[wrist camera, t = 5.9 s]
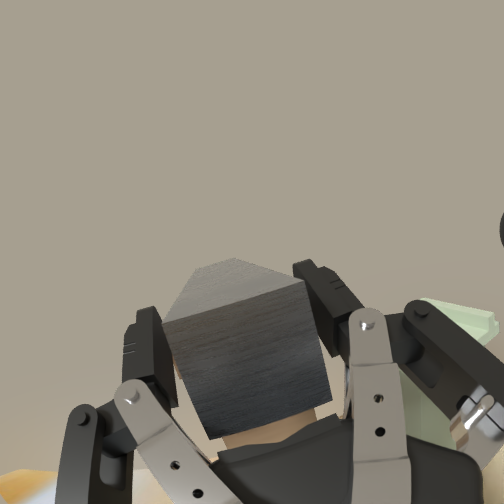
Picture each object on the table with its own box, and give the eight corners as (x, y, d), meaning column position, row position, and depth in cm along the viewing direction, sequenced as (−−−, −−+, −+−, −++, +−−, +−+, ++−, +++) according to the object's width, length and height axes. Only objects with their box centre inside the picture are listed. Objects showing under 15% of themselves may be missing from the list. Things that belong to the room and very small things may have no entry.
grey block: (207, 307, 29) (195, 269, 29) (245, 295, 30) (234, 257, 30) (209, 440, 8) (161, 323, 7) (332, 400, 8) (304, 280, 8)
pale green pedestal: (364, 493, 28) (337, 332, 27) (432, 453, 30) (429, 290, 28) (403, 545, 16) (413, 378, 15) (479, 491, 18) (513, 305, 16)
